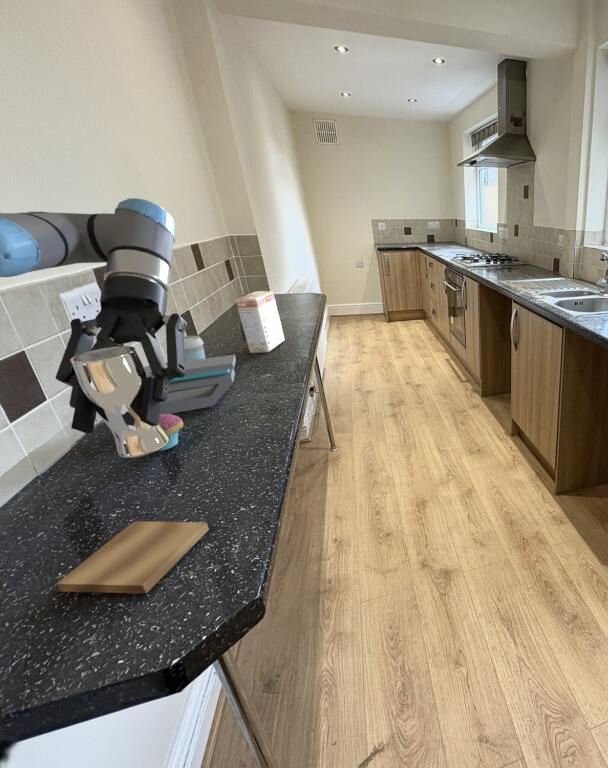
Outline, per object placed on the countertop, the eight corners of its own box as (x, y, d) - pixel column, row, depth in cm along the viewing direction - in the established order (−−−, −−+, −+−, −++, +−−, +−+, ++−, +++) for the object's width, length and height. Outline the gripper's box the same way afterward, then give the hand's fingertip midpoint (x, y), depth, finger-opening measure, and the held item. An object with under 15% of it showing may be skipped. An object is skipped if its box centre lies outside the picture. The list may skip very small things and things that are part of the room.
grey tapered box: (244, 390, 117) (234, 354, 113) (243, 400, 111) (232, 363, 107) (133, 409, 106) (116, 370, 102) (124, 422, 100) (106, 381, 96)
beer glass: (170, 430, 66) (134, 342, 60) (177, 446, 62) (139, 352, 56) (113, 447, 62) (67, 354, 56) (116, 466, 57) (67, 366, 51)
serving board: (60, 591, 56) (55, 583, 55) (137, 528, 67) (133, 521, 66) (146, 593, 55) (142, 585, 55) (209, 529, 66) (206, 522, 66)
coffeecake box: (266, 340, 161) (254, 291, 153) (285, 340, 162) (274, 290, 154) (248, 353, 148) (234, 299, 140) (269, 352, 148) (256, 298, 141)
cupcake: (130, 451, 88) (108, 401, 83) (173, 432, 95) (155, 385, 90) (156, 459, 85) (135, 407, 80) (198, 439, 92) (181, 391, 87)
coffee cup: (217, 369, 132) (205, 334, 127) (208, 379, 125) (196, 341, 120) (185, 373, 130) (173, 336, 125) (175, 383, 122) (161, 344, 118)
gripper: (219, 297, 70) (211, 425, 62) (77, 304, 65) (49, 443, 57) (197, 270, 63) (185, 409, 56) (37, 275, 58) (-2, 428, 50)
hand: (116, 426), depth 56 cm, fingers closed on beer glass, 7 cm apart
